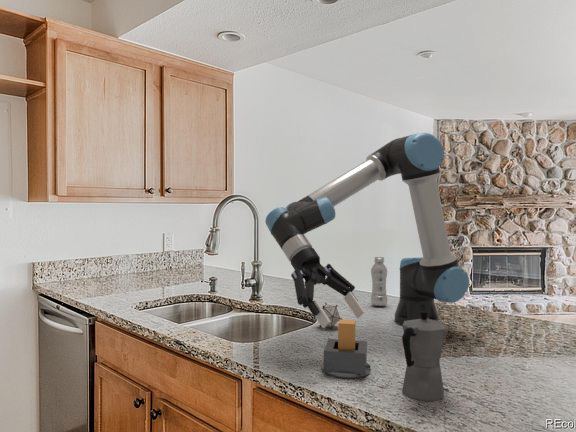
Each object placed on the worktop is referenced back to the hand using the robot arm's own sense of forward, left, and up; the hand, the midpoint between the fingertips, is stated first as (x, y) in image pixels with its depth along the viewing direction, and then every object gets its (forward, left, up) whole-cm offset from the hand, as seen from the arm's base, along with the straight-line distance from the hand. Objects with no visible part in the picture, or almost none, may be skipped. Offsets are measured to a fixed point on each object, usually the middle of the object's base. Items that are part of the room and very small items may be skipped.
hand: (344, 320), depth 111 cm
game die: (+8, -37, -13) cm, 40 cm away
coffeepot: (-17, +11, -13) cm, 24 cm away
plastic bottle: (-8, -74, -13) cm, 75 cm away
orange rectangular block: (-1, 0, -11) cm, 11 cm away
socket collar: (0, 0, -12) cm, 12 cm away
